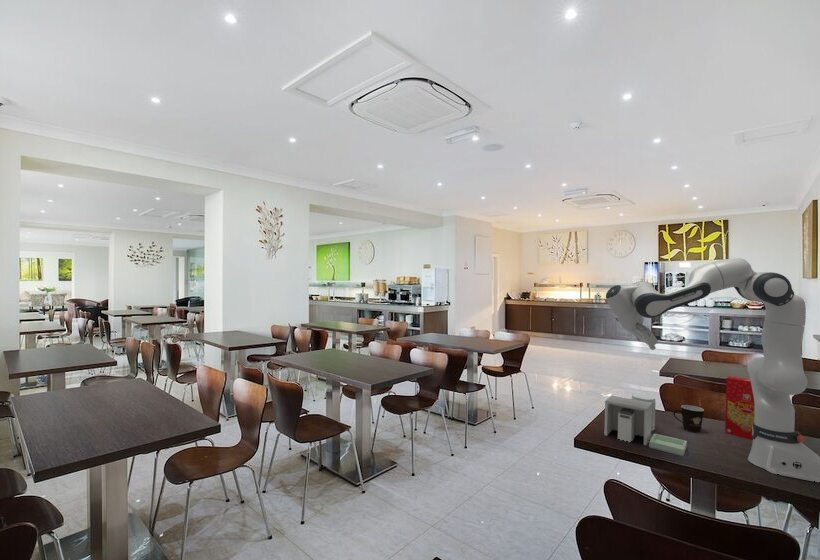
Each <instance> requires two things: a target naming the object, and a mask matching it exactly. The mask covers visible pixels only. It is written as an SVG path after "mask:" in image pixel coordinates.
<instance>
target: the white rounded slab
mask: <svg viewBox="0 0 820 560" xmlns="http://www.w3.org/2000/svg"><path fill="white" fill-rule="evenodd" d="M631 399H633V400H639V401H644V402H649V403H652V424H651V432H653V431H655V430H656V429H655V428H656V397H655V396H653V395H650V394H647V393H633V394H632V395H631Z"/></svg>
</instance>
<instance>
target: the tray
mask: <svg viewBox="0 0 820 560" xmlns="http://www.w3.org/2000/svg"><path fill="white" fill-rule="evenodd" d="M649 448H650V449H653V450H658V451H661V452H665V453H669V454H673V455H676V456H677V455H678V456H681V457H684V456H685V453H686V451H687V448H688V441H687V440H684V439H681V438H675V437H671V436H666V435H662V434H657V433H653V434H652V435H651V439H650V441H649V442H648V449H649Z"/></svg>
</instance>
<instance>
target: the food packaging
mask: <svg viewBox="0 0 820 560" xmlns="http://www.w3.org/2000/svg"><path fill="white" fill-rule="evenodd" d="M725 382H726V384H725V417H724V418H725V419H724V434H725V433H726V434H727V435H729V434H731V435H730V436H733V435H735V436H734V437H738V438H743V439H745V440H750V441H753V436H752V426H753V423H754V413H755V403H754V396H753V391H752V385H751V379H750V378H743V377H738V376H737V377H736V376H731V375H729V376H727V377H726V381H725Z"/></svg>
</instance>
